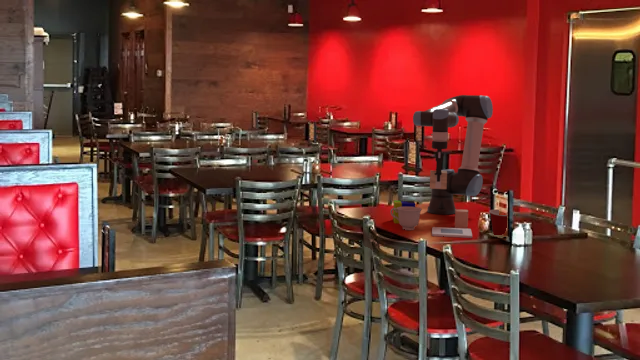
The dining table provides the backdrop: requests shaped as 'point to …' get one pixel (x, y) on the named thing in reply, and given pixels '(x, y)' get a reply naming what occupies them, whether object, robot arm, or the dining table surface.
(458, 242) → the dining table surface
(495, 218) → the plastic cup
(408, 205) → the puzzle toy
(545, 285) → the dining table surface
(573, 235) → the dining table surface
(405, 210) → the teacup
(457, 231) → the base
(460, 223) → the terracotta block
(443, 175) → the oak cube
